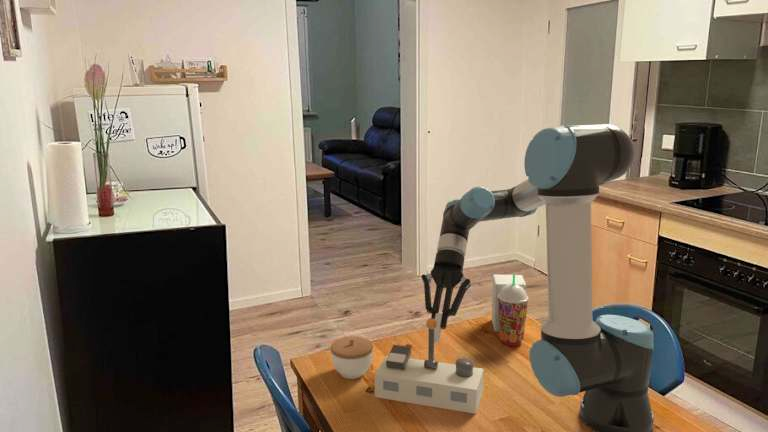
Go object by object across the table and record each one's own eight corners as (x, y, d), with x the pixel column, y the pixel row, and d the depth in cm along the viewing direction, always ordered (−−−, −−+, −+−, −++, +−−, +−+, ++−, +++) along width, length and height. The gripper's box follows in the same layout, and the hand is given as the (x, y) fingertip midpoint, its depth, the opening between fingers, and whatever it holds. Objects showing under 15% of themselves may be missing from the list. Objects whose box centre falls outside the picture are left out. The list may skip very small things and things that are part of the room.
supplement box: (520, 320, 182) (523, 274, 178) (524, 332, 173) (527, 284, 170) (491, 319, 183) (492, 273, 179) (493, 331, 174) (495, 283, 170)
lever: (438, 366, 142) (439, 317, 139) (435, 371, 139) (436, 321, 136) (426, 364, 142) (426, 315, 139) (423, 369, 140) (424, 319, 137)
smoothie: (489, 341, 168) (492, 274, 163) (507, 332, 173) (510, 268, 168) (514, 351, 162) (517, 282, 157) (531, 341, 167) (535, 275, 162)
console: (482, 391, 142) (483, 368, 140) (475, 414, 132) (476, 390, 131) (387, 376, 149) (387, 354, 148) (374, 397, 140) (374, 374, 138)
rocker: (411, 352, 145) (410, 346, 144) (404, 369, 140) (403, 362, 139) (394, 350, 147) (393, 343, 146) (386, 367, 141) (385, 360, 140)
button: (474, 370, 140) (474, 359, 139) (471, 378, 136) (471, 367, 135) (457, 367, 141) (457, 357, 140) (454, 376, 137) (454, 365, 136)
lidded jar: (352, 388, 144) (351, 353, 142) (322, 373, 151) (321, 340, 149) (382, 372, 151) (381, 338, 149) (352, 358, 158) (351, 326, 156)
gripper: (476, 263, 156) (463, 349, 145) (428, 259, 160) (412, 342, 149) (473, 250, 150) (460, 338, 139) (424, 245, 154) (406, 331, 143)
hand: (435, 340), depth 144 cm, fingers closed
